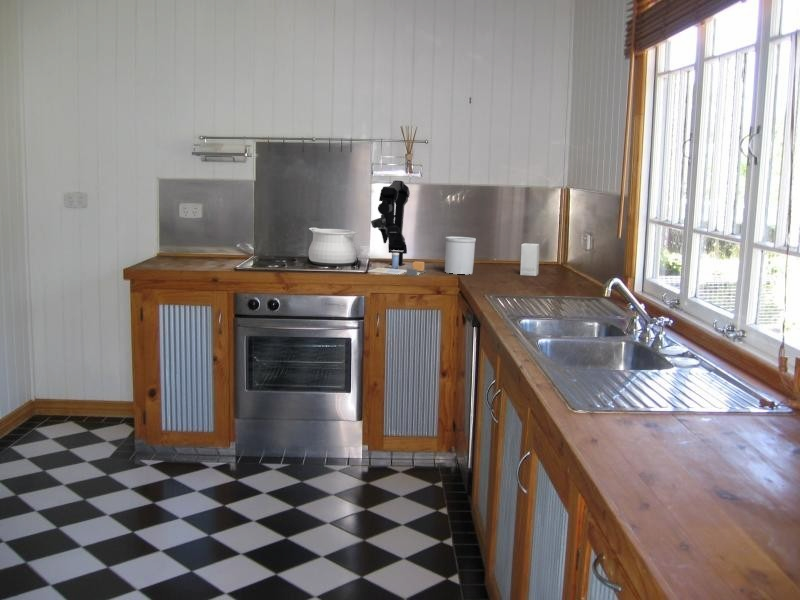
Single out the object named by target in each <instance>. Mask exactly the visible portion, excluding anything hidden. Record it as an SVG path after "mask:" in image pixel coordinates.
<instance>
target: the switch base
mask: <svg viewBox="0 0 800 600" xmlns="http://www.w3.org/2000/svg"><path fill="white" fill-rule="evenodd" d="M406 270H407V272H406V276H414V277H417V275H418V276H419V274H420V275H422V274H421V273H423V274H425V273H424V272H426V273H427V271H426V270H425V269H424V270H423V271H417V269H413V268H406Z"/></svg>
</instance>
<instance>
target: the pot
mask: <svg viewBox="0 0 800 600" xmlns="http://www.w3.org/2000/svg"><path fill="white" fill-rule="evenodd" d="M308 230H309V231H311V232H312V241H311V243H310V245H309V247H308V248H309V249H308V258H309V260H310V262H311V263H312V264H313V265H316V266H322V265H324V266H323V267H349V266H352V265H354V263H355V262H356V259H357V248H356V245H355V243H354V236H355V235H356V234H359V231H355V230H350V229H343V228H341V229H340V228H319V227H309V228H308Z"/></svg>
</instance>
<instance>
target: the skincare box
mask: <svg viewBox="0 0 800 600" xmlns="http://www.w3.org/2000/svg"><path fill="white" fill-rule="evenodd" d="M520 249H521V250H520V271H519V272H520V274H519V275H520V276H528V277H529V276H530V277H536V276H538V275H539V268H540V267H539V265H540V243H529V242H528V243H522V244H521V245H520Z"/></svg>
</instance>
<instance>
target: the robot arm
mask: <svg viewBox="0 0 800 600" xmlns="http://www.w3.org/2000/svg"><path fill="white" fill-rule="evenodd" d="M404 182H405V181H402V180H396V179H395V180H393V181H392V183H390V185H389V186H387V185H386V186H383V187H382V188H381V190H380V193H379V199H378V202H381V203H379V204H378V206H377V211H378V213H379V214H380V217H378V218H374V219H372V220H370V224H371V227H372V228H373V229H377V230H378V231H380V233H381V237H382V242H383V244H386V243H387V242H388V243H387V244H388V247H387V248H388V253H390V254H392V253H399V263H398V267H400V266H404V265H406V263H403V261H404V255H405V254H408V250H407V249H408V248H407V244H406V239H405V236H404V235H403V229H404V228H403V227H404V217H405V206H406V204H407V203H408V201H409V198H410V193H411V192H410V187H409V186H407V184H405V183H404ZM389 266H392V262H390V263H389Z"/></svg>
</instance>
